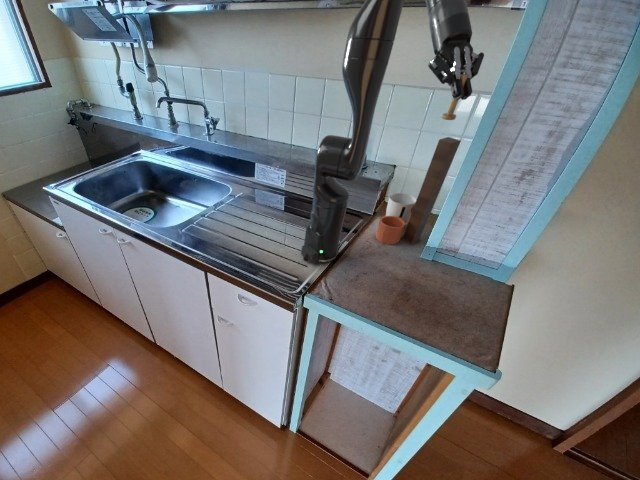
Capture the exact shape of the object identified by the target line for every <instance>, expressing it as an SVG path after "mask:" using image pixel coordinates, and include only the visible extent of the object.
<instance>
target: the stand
mask: <svg viewBox="0 0 640 480" xmlns="http://www.w3.org/2000/svg"><path fill="white" fill-rule="evenodd" d="M461 141H462V140H460V139H457V138H453V137H449V136H447V137H443V138H440V139H438V141H437V145H436V147H435V150H434V153H433V156H432V157H431V161H430V163H429V166H428V168H427V170H426V171H427V172H426V174H425V177H424V179H423V182H422V184H421V187H420V190H419V192H418V195H417V197H416V199H417V200H416V203H415V206H414V208H413V211H412V213H411V215H410V216H409V218H408V221H407V224H406V226H405V229H404V231H403V234H402V237H401V240H402V241H403V240H404V241H405V242H407V243H408V244H411V245H413V244H415V243H417V242H419V241H420V240H421V237H422V235H423V232H424V230H425V228H426V225H427V224H428V220H429V218H430V216H431V214H432V211H433V209H434V206H435V203H436V201H437V199H438V197H439V194H440V192H441V190H442V187H443V185H444V183H445V180H446V177H447V176H448V174H449V171H450V168H451V166H452V164H453V160H454V158H455V156H456V154H457V151H458V149H459V146H460V144H461Z"/></svg>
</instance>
